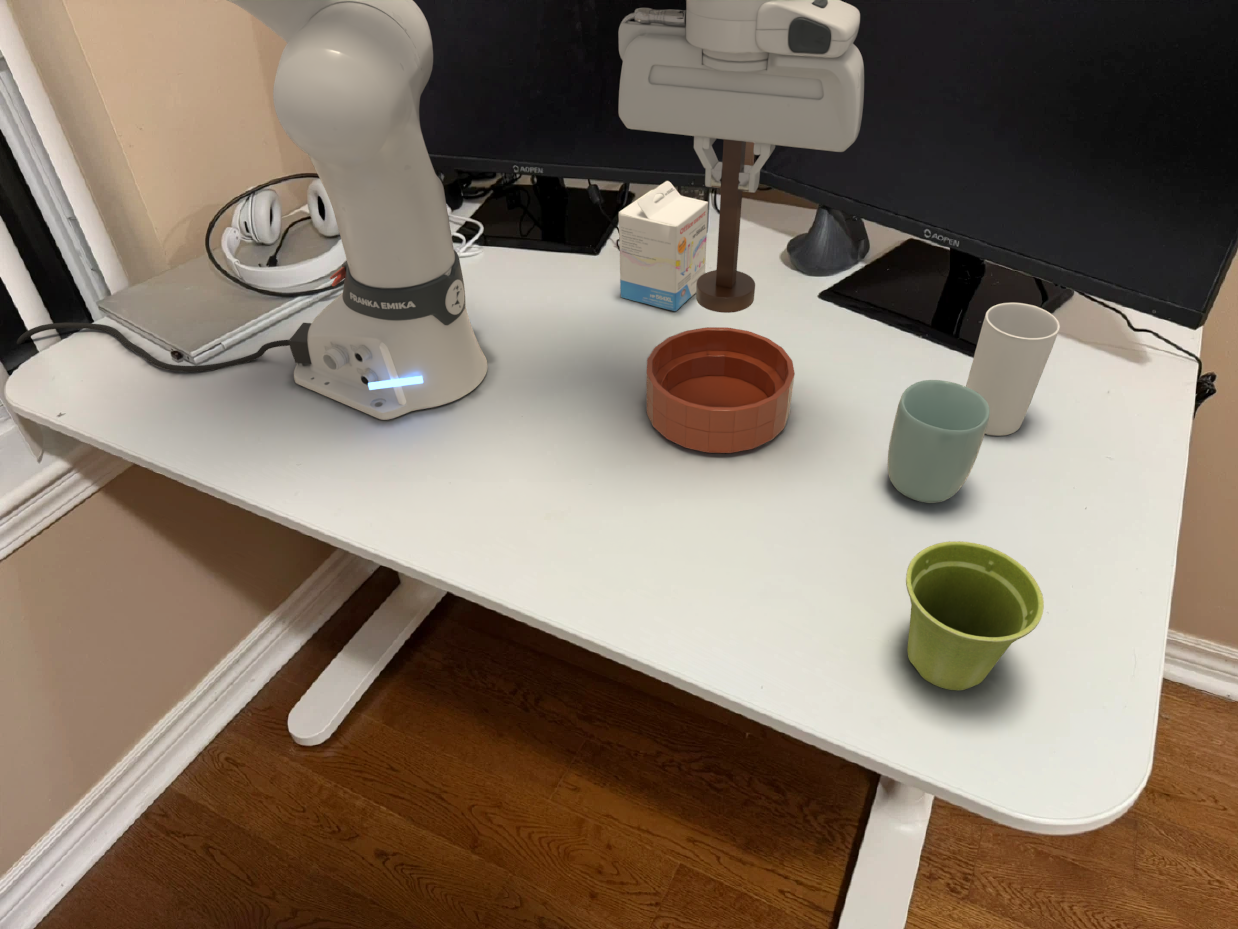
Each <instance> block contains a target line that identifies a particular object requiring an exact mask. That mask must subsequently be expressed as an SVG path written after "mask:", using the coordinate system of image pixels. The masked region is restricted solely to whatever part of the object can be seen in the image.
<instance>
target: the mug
mask: <svg viewBox="0 0 1238 929" xmlns="http://www.w3.org/2000/svg"><path fill="white" fill-rule="evenodd" d="M1060 324H1061V323H1060V321H1059V320H1058V318H1057V317H1056V316H1054V315H1053V313H1051V312H1049V311H1047V310H1046V309H1043V308H1042V307H1039V306H1036V305H1035V304H1034V305H1033V304H1028V303H1023V302H1003V303H998V304H996V305H993V306H990V308H988V310H987V311H986V312H985V316H984V319H983V322H982V325H981V329H980V332H979V337H978V340H977V343H976V348H975V351H974V355H973V359H972V362H971V367H970V369H969V373H968V377H967V381H966V384H965V387H968V388H970V389H972V390H974V391H976V392H977V393H979V394H980V395H981V396H982V397H984V399H985V400H986V401H987V403H988V405H989V408H990V417H989V421H988V425H987V429H986V432H985V435H988V436H996V437H997V436H999V437H1002V436H1008V435H1012V434H1014V433H1016V432H1017V431H1018V430H1019V429H1020V428H1021V427H1022V424H1023V422H1024V420H1025V417H1026V415H1027V412H1028V410H1029V408H1030V405H1031V403H1032V400H1033V397H1034V395H1035V393H1036V390H1037V388H1038V385H1039V383H1040V380H1041V377H1042V375H1043V373H1044V370H1045V367H1046V365H1047V363H1048V360H1049V358H1050V355H1051V354H1052V350H1053V348H1054V345H1055V342H1056V339H1057V337H1058V334H1059V332H1060V330H1061V329H1060V328H1061V325H1060Z"/></svg>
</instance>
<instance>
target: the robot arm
mask: <svg viewBox="0 0 1238 929" xmlns="http://www.w3.org/2000/svg"><path fill="white" fill-rule="evenodd" d="M226 1H227V2H230V3H232V4H233V5H235V6H237V7H240V8H241V9H242V10H244V11H246V12H247V13H248V14H250V15H252V16H253V17H254V18H255V19H257V20H258V21H259V22H261V23H262V24H263V25H265V26H266V27H267V28H268V29H270V30H271V32H273V33H274V34H276V35H277V36H278V37H280V39H282V40H283V41H284V42H285V43H286V44H285V47H284V48H283V50H282V53H281V55H280V58H279V61H278V65H277V67H276V72H275V78H274V83H273V88H272V89H273V90H272V99H273V106H274V111H275V114H276V117H277V120H278V121H279V124H280V126H281V127H282V130H283V131H284V132H285V134H286V135H287V137H288V138H289V140H290V141H292V143H293V144H295V146H296V147H298V148H299V150H301V151H302V152H304V153H305V154H306V155H307V156H308V158H309V160H310V162H311V164H312V166H313V167H314V170H315V172H316V173H317V176H318V178H319V180H320V182H321V183H322V186H323V187H324V190H325V193H326V195H327V196H328V197H327V198H328V200H329V202H330V205H331V208H332V210H333V214H334V218H335V221H336V225H337V229H338V233H339V236H340V240H341V244H342V248H343V251H344V255H345V259H346V260H345V261H344V262H343V263H342V264H341V268H339V269H338V270H337V271H336V272H334V273H333V274H332V275H331V276H330V277H329V280H333V279H334V280H333V281H332V282H331V286H332V287H336V286H337V285H338V284H339V283H341V282H342V281H343V288H342V293H340V294H339V295H338V296H337V297H336V298H334V299H333V300H332V301H331V302H330V303H329V304H328V305H327V306H326V307H325V308H323V309H322V310H321V311H320V312H319V313H318V314H317V315H316V316H315V318H314V319H313V321H312V322H302V323H301V325H300V326H299V327H298V328H297V329H296V331H294V333H293V334H292V335H291V336H290V338H289V339H280V340H274V341H270V342H267V343H265V344H262V345H261V346H260V347H259V349H257V351H256V352H254V353H251V354H249V355H246V356H245V355H244V356H242V357H239V358H236V359H231V360H227V361H223V362H218V363H211V364H202V365H200V364H199V365H181V364H172V363H168V362H167V363H166V362H164V361H161V360H159V359H157V358H156V357H154V356H153V355H151V354H150V353H149V352H148V351H146V350H145V349H143V348H142V347H140V346H138V345H137V344H135V343H133V342H132V341H130V340H129V339H128V338H127V337H126V336H125V335H123V333H122V332H120V331H119V330H118V329H116V328H114V327H113V326H111V325H110V326H109V325H106V324H100V323H90V322H54V323H47V324H41V325H38V326H34V327H32V328H30V329H28V330H27V331H25V332H24V333H23V334H21V335H20V336H19V337H18V339H17V340H16V344H17V345H21V344H24V343H25V342H26V341H27V340H28V339H30V338H31V337H32V336H34V335H36V334H39V333H41V332H45V331H50V330H59V329H86V330H98V331H104V332H107V333H110V334H112V335H114V336H115V338H117V339H118V340H119V341H120V342H121V343H122V344H123V345H124V346H126V347H127V348H128V349H130V350H132V351H133V352H135V353H137V354H138V355H140V356H141V357H143V358H144V360H146V361H148V362H149V363H150V364H152V365H154V366H155V367H158V368H160V369H163V370H167V371H172V372H186V373H187V372H189V373H191V372H193V373H194V372H195V373H196V372H197V373H198V372H208V371H215V370H220V369H226V368H228V367H229V368H230V367H232V366H233V367H234V366H238V365H242V364H246V363H250V362H251V361H256V360H258V359H260V358H261V357H263V356H264V354H265V353H266V352H267V351H268V350H271V349H275V348H279V347H289V348H290V352H291V354H292V357H293V360H294V363H295V364H296V365H295V368H294V370H293V379H294V383H295V384H296V385H298V386H301V387H303V388H306V389H308V390H310V391H313V392H315V393H318V394H320V395H322V396H325V397H327V398H329V399H331V400H334V401H336V402H339V403H341V404H343V405H345V406H348V407H350V408H352V409H354V410H358V411H360V412H362V413H365V414H366V415H369V416H371V417H374V418H376V419H377V420H378V419H379V420H382V421H386V420H387V421H388V420H393V419H396V418H398V417H401V416H403V415H405V414H408V413H410V412H414V411H419V410H424V409H430V408H431V409H432V408H437V407H440V406H443V405H446V404H450V403H453V402H455V401H457V400H459V399H461V398H463V397H465V396H466V395H468V394H469V393H471V392H472V391H474V390H475V389H476V388H477V387H478V386H479V385H480V384H481V383H482V382H483V380H484V379H485V378H486V374H487V372H488V360H487V357H486V355H485V354H484V352H483V350H482V347H481V345H480V343H479V342H478V339H477V337H476V334H475V332H474V329H473V326H472V323H471V320H470V317H469V313H468V311H467V306H466V288H465V282H464V276H463V270H462V265H461V260H460V255H459V253H458V252H457V251H456V250H455V249H454V248H455V247H454V243H453V242H454V241H453V236H452V231H451V224H450V223H451V222H450V219H449V213H448V206H447V201H446V200H447V199H446V195H445V189H444V185H443V183H442V180H441V178H440V177H439V176H438V175H437V174H436V171H435V169H434V167H433V163H432V160H431V157H430V154H429V153H428V149H427V146H426V143H425V140H424V136H423V133H422V127H421V121H420V104H421V101H420V100H421V96H422V94H423V92H424V90H425V87H426V86H427V84H428V83H429V80H430V77H431V75H432V71H433V67H434V66H433V65H434V48H433V40H432V35H431V29H430V26H429V23H428V21H427V19H426V17H425V14H424V13H423V11H422V9H421V8H420V7H419V6H418V4H417V3H416V2H415V1H414V0H226ZM685 4H686V5H685V6H686V8H685V9H653V8H650V7H639V8H635V10H634V12H631V13H629V14H628V15H625V16H624V18H623V19H622V21H621V22H620V24H619V27H618V53H619V56H620V59H621V61H622V65H621V71H620V78H619V90H618V117H619V118H620V120H621V122H622V124H624V126H625V128H627V129H630V130H636V131H646V132H654V133H655V132H656V133H664V134H674V135H684V136H690V137H691V136H692V137H693V149H694V151H695V154H696V155H697V157H698V159H699V161H700V163H701V165H702V167H703V168H704V169H705V173H704V175H705V176H704V186H705V187H707V188H714V189H721V178H722V161H719V160H718V157H717V155H716V153H715V150H714V148H713V144H714V143H715V141H717V139H718V140H724V139H727V140H736V141H745V142H746V143H753V155H754V156H758V158H757V159H756V161H755V162H754V163H753V165H749V164H744V167H743V169H741V171H740V172H739V182H740V183H739V184H738V190H739V191H742V192H745V193H746V192H747V193H756V192H757V190H758V188H759V185H760V176H761V169H762V168H763V167H764V166H765V164H766V162H767V161H768V159H769V158H770V156H771V155H772V153H773V152H774V151H775V148H776V146H782V147H792V148H799V149H800V148H801V149H810V150H817V151H818V150H819V151H828V152H836V153H844V152H845V151H846V150H848V149H849V148H850V147H851V146H852V145H853V144H854V143H855V142H856V141H857V139H858V136H859V134H860V132H861V126H862V119H863V111H864V110H863V109H864V100H865V98H864V97H865V66H864V65H865V64H864V60H863V56H862V54H861V52H860V50H859V48H858V47H857V46H856V45H855V44H854V43H855V40H856V38H857V37H858V33H859V29H860V24H861V13H860V10H859V9H858V8H857V7H856V6H854V5H852V4H850V3H847V2H846V1H845V2H844V1H842V0H686V3H685ZM631 20H634V21H631Z"/></svg>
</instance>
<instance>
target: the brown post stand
mask: <svg viewBox="0 0 1238 929" xmlns="http://www.w3.org/2000/svg"><path fill="white" fill-rule="evenodd" d="M722 144H723V145H722V161H721V162H722V178H721V188H720V198H719V199H720V201H719V216H718V218H719V219H718V234H717V253H716V254H717V256H716V269H714V270H710V271H708V272H705V274H703V275H701V276H700V277H699V278H698V280H697V283H696V293H695V300H696V302H697V303H698V304H699V305H700V307H702V308H703V309H706V310H708V311H711V312H714V313H715V312H716V313H723V314H731V313H738V312H741V311H744V310H747V309H748V308H749V307H751V306H752V304H754V301H755V292H756V283H755V279H754V278H752V276H750V275H749V274H747V273H745V272H744V271H743V272H742V271H740V270H738V258H739V245H740V230H741V219H742V218H741V217H742V203H743V191H739V190H738V184H739V183H740V182H739V172H740V171H741V169H743V167H744V165H745V162H746V147H747V142H745V141H736V140H727V139H723V142H722Z"/></svg>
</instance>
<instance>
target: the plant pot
mask: <svg viewBox="0 0 1238 929" xmlns="http://www.w3.org/2000/svg"><path fill="white" fill-rule="evenodd" d="M1033 576H1034V575H1032V574H1031V573H1030V571H1028V570H1027V569H1026V568H1025V566H1024V565H1022V564H1021V563H1020V562H1019V561H1017V560H1016V559H1014V558H1013V557H1011V556H1010V555H1008V554H1006V553H1004V552H1003V551H1000V550H998V549H995V548H993V547H991V546H988V545H985V544H981V543H975V542H970V541H961V540H958V541H957V540H955V541H942V542H938V543H935V544H931V545H929V546H926V547H925V548H924V549H922V550H921V551H919V552H918V553H916V555H915V556H913V557H912V558H911V561H909V564H908V566H907V568H906V575H905V585H906V590H907V594H908V597H909V600H910V614H909V615H910V616H909V628H908V636H907V637H908V638H907V647H906V648H907V658H908V660H909V662H910V663H911V664H912V666H913V667H914V668H915V669H916V671H917V672H918V674H919V675H920V676H921V677H922V678H923V679H924V680H925V681H926V682H928V683H930V684H932V685H934V686H936V687H938V688H941V689H944V690H950V691H965V690H968V689H970V688H972V687H975V686H977V685H979V684H981V683H982V682H983V681H984V680H985V679H986V677H987V676H988V675H989V674H990V672H991V671H992V670H993V668H995V666H996V664H997V663H998V662H999V661H1000V660H1001V658H1002V657H1003V655H1004V654H1005V652H1006V651H1007V650H1008V649H1009V648H1010V647H1011V645H1012V644H1013V643H1015V642H1017V641H1018V640H1020V639H1022V638H1025V637H1026V636H1028V635H1029V634H1031V633H1032V632H1033V631H1034V630H1035V629H1036V628H1037V626H1038V625H1039V624H1040V622H1041V620H1042V617H1043V614H1044V609H1045V601H1044V596H1043V593H1042V589H1041V588H1040V585H1039V584H1038V582H1037V580H1036V579H1035V578H1034V577H1033Z"/></svg>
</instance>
